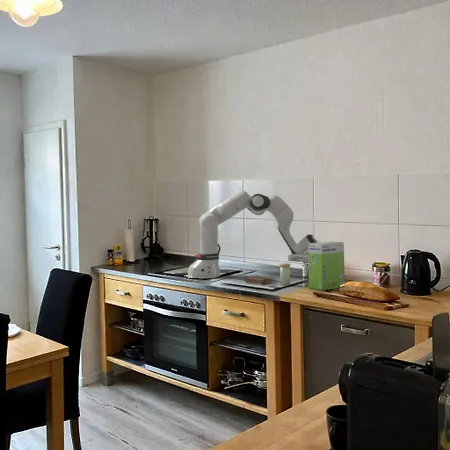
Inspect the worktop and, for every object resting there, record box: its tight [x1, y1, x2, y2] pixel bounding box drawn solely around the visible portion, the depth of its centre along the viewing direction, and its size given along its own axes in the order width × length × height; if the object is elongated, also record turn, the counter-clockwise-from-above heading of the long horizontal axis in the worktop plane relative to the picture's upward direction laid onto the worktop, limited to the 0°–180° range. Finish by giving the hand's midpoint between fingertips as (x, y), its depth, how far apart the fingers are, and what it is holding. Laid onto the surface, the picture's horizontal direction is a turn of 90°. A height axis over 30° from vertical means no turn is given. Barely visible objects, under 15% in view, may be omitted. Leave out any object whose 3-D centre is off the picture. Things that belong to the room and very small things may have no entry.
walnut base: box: [245, 275, 272, 285], centre depth 294 cm, size 10×10×2 cm
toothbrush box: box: [308, 241, 346, 291], centre depth 273 cm, size 18×10×24 cm, turn 126°
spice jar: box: [279, 262, 291, 287], centre depth 283 cm, size 6×6×12 cm
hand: (297, 260), depth 292 cm, fingers open, 8 cm apart
